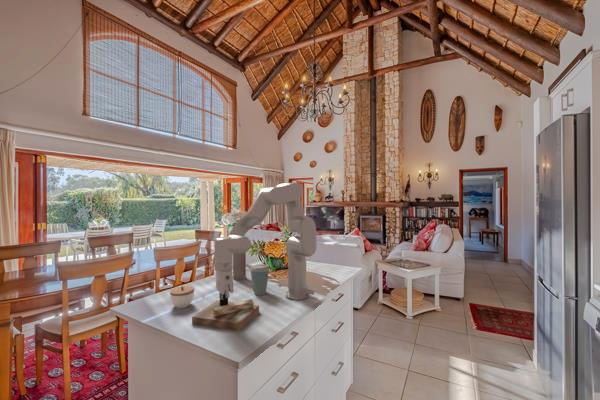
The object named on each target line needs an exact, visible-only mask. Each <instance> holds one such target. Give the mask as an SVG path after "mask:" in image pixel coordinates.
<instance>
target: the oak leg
mask: <svg viewBox="0 0 600 400" xmlns="http://www.w3.org/2000/svg"><path fill="white" fill-rule="evenodd" d="M254 305H255V304H254V300H253V299H251V298H250V299H245V300H241V301H238V302H233V304H228V305H224V306H220V307H216V308H213V314H214V316H215V317H216V316H220V315H224V314H228V313H232V312H236V311H239V310H243V309H247V308H251V307H254Z"/></svg>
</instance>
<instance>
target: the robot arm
mask: <svg viewBox="0 0 600 400" xmlns="http://www.w3.org/2000/svg"><path fill="white" fill-rule="evenodd" d="M303 194H304V188H303V186H302V185H301V184H300V183H298V182H284V183H283V182H282V183H280V184H277V185H276V186H274V187H273V186H271V187H264V188H261V189H260V191H259V192H258V194H257V195H256V197H255V198H254V200H253V202H252V204H251V206H250V207H249V209H248V210H247V211H246V213H245V214H244V215H243V216H242V217H241V218H240V219H238V221H237V222H236V223H235V224H234V225H233V226H232V228H230V229H231V230H230V232H229V233H228V235H227V236H222V237H220V236H219V237H217V238H215V239H214V241H213V243H214V248H213V249H214V250H213V251H214V253H213V254H214V260H213V261H214V271H215V288H216V289H215V290H217V292H219V294H218V295H219V296H218V297H219V301H220V306H224V305H228V302H229V298H230V294H233V293H234V279H233V253H245V252H246V253H247V252H249V251H250V250H251V248H252V241H251V240H250V239H249V237H247V236H246V234H247V233H248V231H250V230H251V229H253V228H254V227H256V226H258V225H261V224H262V223H263V222H264V220H265V218H266V217H267V215H268V213H269V211H270V209H271V208H272V206H281V205H285V207H286V214H287V217H286V219H287V228H288V231H289V232H290V233H293V234H297V235H293V236H292V235H291V236H290V237H289V238H288V239H287V240H286V246H285V247H286V254H287V265H288V267H287V274H288V277H287V278H288V279H287V280H288V291H286V292H285V297H286V298H287V299H289V300H295V301H299V300H301V301H302V300H305V299H308V298H309V297H310V295H311V296H312V295H313V296H314V295H315V290H314V289H311V288H310V289H309V286H307V259H306V257H307V258H311V257H312V256H314V255H315V254H316V251H317V227H316V223H315V221H314V219H313V218H312V217H311V216H307V215H304V206H303V202H302V199H301V198H302V196H303Z"/></svg>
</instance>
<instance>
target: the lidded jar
mask: <svg viewBox="0 0 600 400" xmlns="http://www.w3.org/2000/svg"><path fill="white" fill-rule="evenodd" d="M169 293H170V301H171V304H172V305H173V306H174V307H175V308H176V307H177V308H176V309H185V308H187V307H189V306H190V305H191V303H192V302H193V300H194V298H195V297H194V296H195V287H193V286H191V285H190V286H189V285H188V286H184V285H183V286H182V285H181V286H178V287H175V288H172V289H171V290H170V291H169Z"/></svg>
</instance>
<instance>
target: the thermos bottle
mask: <svg viewBox="0 0 600 400" xmlns="http://www.w3.org/2000/svg"><path fill="white" fill-rule="evenodd" d="M246 253H247V252H245V253H233V254H232V268H233V269H232V275H233V281H242V280H245V279H246V278H247V275H246V274H247V270H246V269H247V266H246V263H247V262H246V259H247V257H246Z"/></svg>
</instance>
